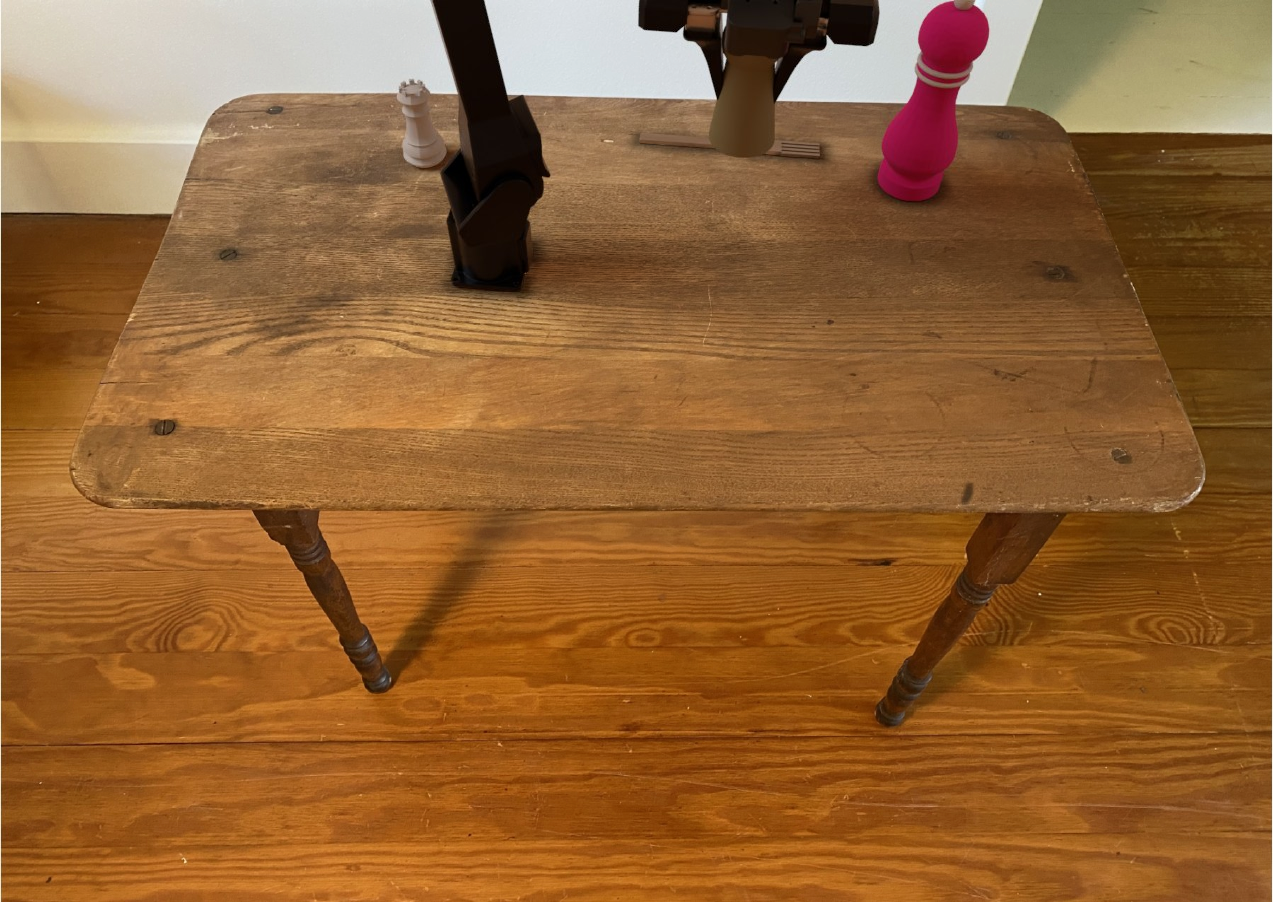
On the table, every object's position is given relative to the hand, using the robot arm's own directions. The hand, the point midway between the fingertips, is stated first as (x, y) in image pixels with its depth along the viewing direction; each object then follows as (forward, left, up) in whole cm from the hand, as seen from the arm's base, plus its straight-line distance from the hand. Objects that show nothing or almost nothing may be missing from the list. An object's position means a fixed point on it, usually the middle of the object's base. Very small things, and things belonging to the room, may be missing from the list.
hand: (745, 99), depth 80 cm
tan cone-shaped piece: (0, 0, -4) cm, 4 cm away
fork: (0, +12, -13) cm, 17 cm away
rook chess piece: (-32, +6, -13) cm, 35 cm away
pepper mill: (+18, +8, -13) cm, 23 cm away
